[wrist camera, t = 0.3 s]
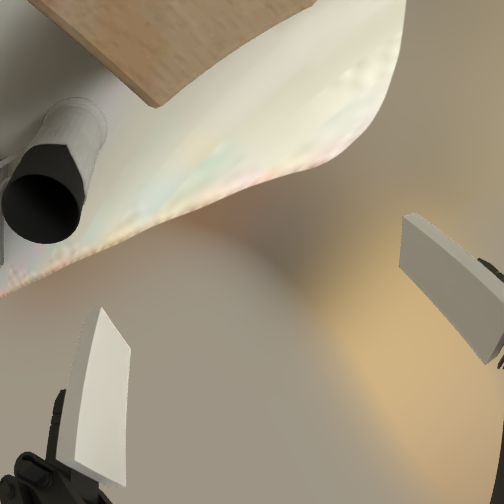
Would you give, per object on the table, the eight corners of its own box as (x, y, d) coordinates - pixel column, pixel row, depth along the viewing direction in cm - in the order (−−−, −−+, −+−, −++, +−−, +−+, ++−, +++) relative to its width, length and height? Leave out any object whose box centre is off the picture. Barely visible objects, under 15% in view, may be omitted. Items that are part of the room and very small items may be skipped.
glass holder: (108, 159, 33) (94, 246, 24) (12, 169, 29) (-29, 254, 19) (107, 94, 27) (80, 160, 18) (1, 109, 22) (-61, 182, 13)
